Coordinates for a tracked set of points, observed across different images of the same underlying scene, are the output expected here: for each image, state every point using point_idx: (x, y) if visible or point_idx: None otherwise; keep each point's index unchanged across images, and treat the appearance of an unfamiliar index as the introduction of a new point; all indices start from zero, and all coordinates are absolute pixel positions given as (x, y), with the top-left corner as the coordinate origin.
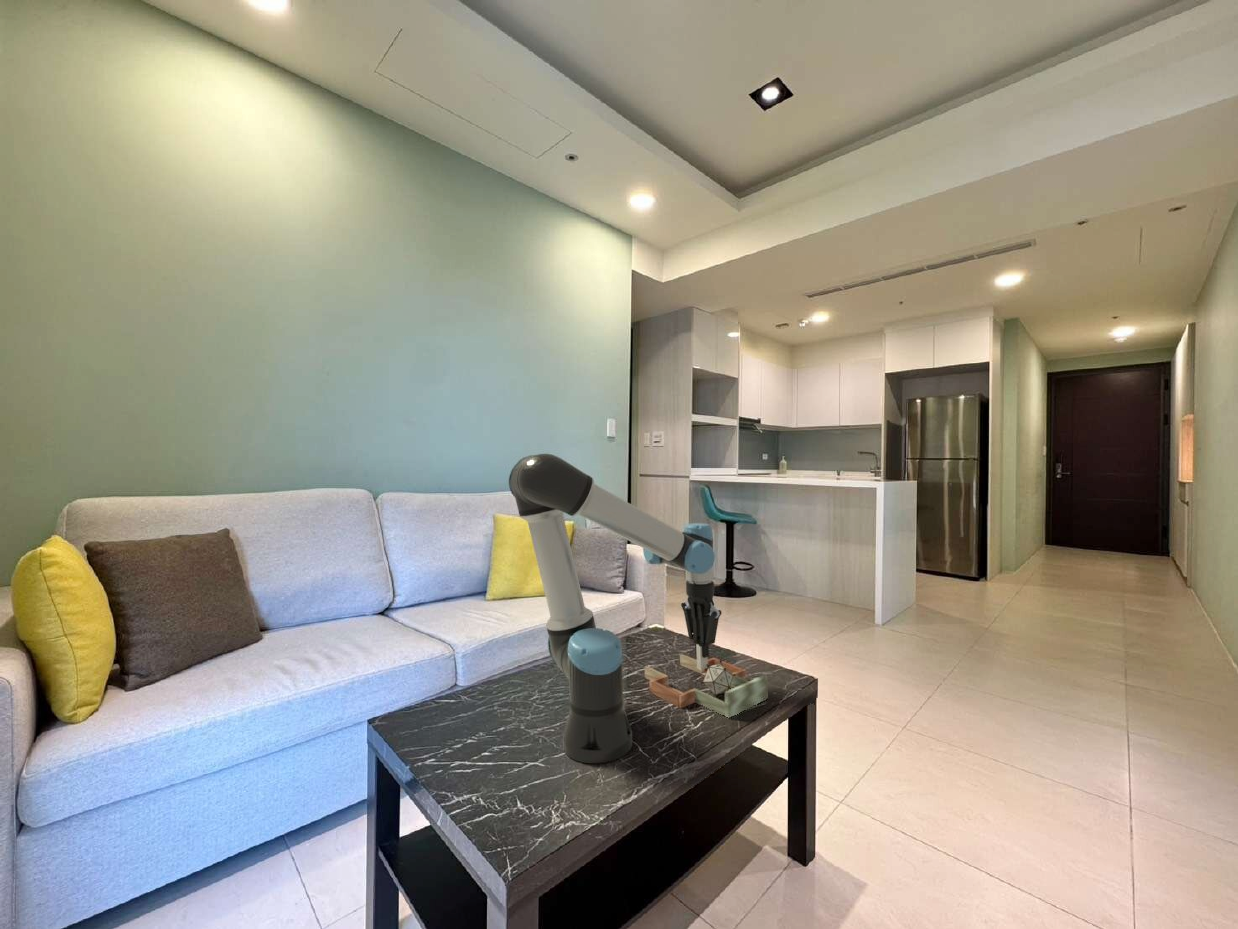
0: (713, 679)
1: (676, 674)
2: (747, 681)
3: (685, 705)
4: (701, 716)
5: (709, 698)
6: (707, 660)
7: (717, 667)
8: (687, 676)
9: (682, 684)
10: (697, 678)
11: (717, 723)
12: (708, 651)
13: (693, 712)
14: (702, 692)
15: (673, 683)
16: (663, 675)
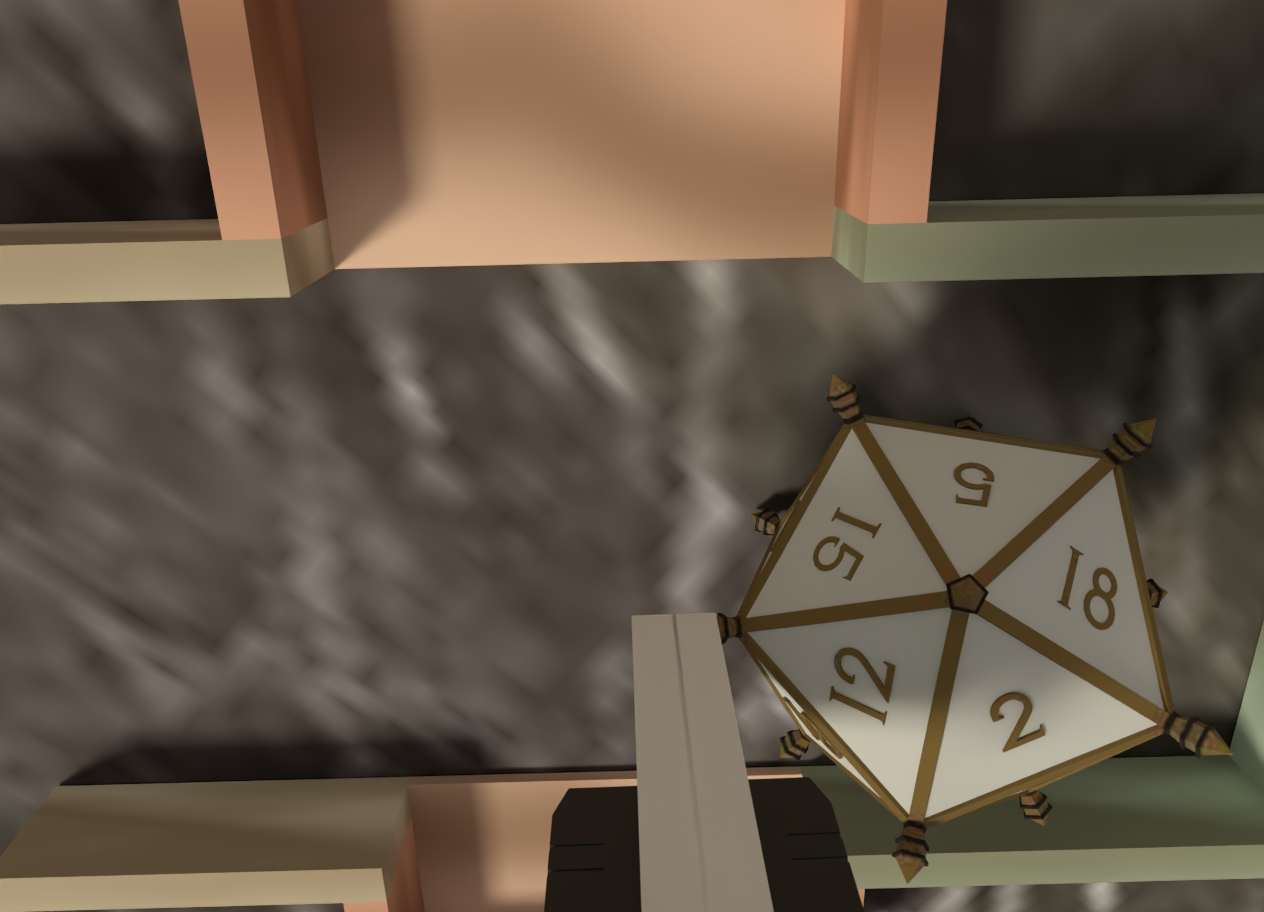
0: (1024, 793)
1: (163, 519)
2: (1222, 257)
3: None
4: (1043, 902)
5: (1076, 873)
6: (727, 680)
7: (1040, 753)
8: (288, 458)
9: (441, 640)
10: (410, 405)
11: (1215, 885)
12: (848, 869)
13: (948, 906)
14: (955, 863)
15: (362, 692)
16: (337, 898)
